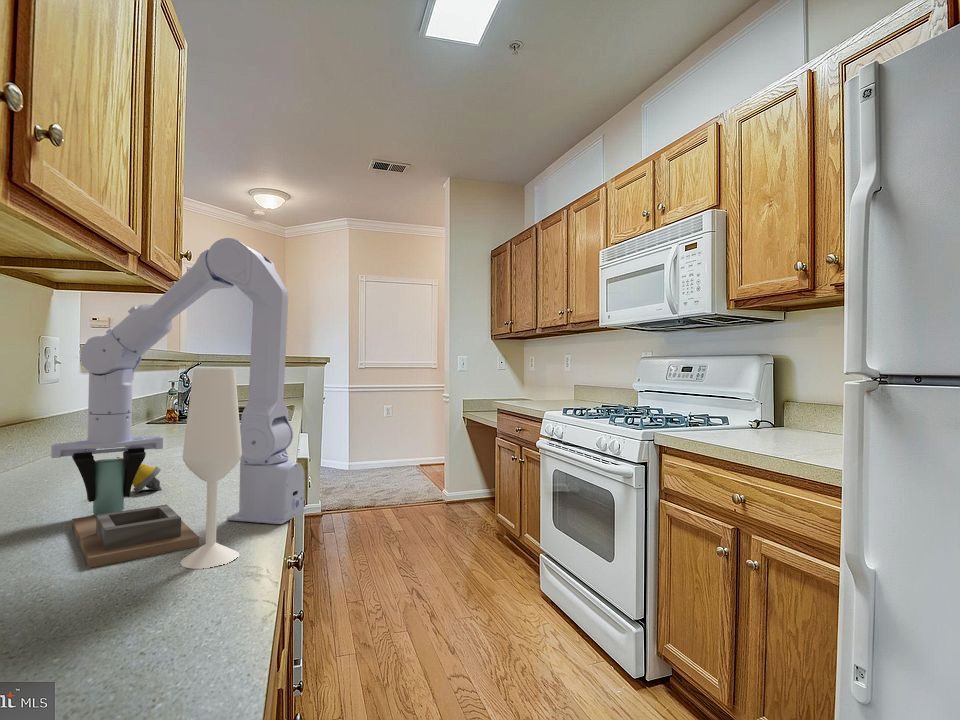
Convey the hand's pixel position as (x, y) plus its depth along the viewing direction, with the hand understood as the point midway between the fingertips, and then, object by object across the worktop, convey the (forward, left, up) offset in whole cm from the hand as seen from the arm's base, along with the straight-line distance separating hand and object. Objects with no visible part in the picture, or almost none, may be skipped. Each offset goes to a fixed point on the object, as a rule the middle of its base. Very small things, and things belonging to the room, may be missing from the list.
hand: (108, 498), depth 84 cm
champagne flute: (-28, +13, -3) cm, 31 cm away
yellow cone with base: (+6, -13, -3) cm, 15 cm away
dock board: (-12, +8, -3) cm, 15 cm away
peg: (0, 0, -2) cm, 2 cm away
